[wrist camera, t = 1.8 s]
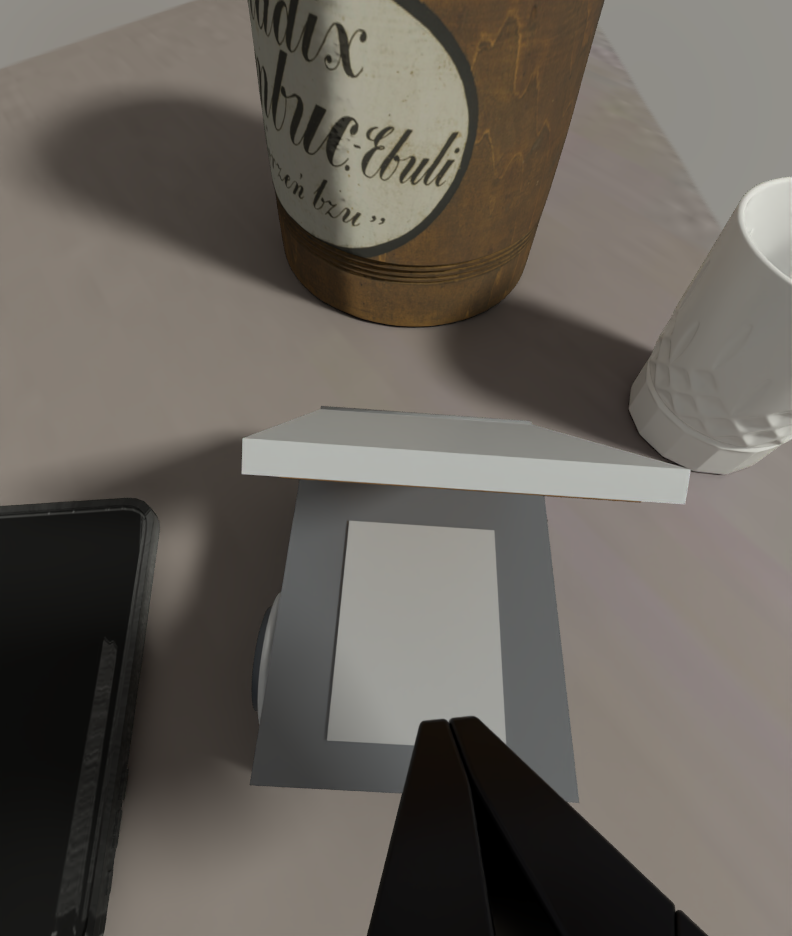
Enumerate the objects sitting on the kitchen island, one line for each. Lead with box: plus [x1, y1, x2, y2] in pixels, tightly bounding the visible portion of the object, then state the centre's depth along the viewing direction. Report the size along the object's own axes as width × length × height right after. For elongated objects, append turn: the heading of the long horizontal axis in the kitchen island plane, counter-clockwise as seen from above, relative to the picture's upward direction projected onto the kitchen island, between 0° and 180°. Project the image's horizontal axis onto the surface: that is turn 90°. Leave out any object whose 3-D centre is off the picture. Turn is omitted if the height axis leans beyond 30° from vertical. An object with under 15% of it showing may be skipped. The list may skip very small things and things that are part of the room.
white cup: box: [629, 177, 792, 475], centre depth 22 cm, size 8×8×10 cm
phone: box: [0, 498, 160, 936], centre depth 18 cm, size 8×1×15 cm
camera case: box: [250, 479, 579, 803], centre depth 18 cm, size 11×9×5 cm
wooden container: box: [248, 0, 604, 327], centre depth 22 cm, size 15×15×22 cm
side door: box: [242, 406, 691, 504], centre depth 14 cm, size 10×8×1 cm
